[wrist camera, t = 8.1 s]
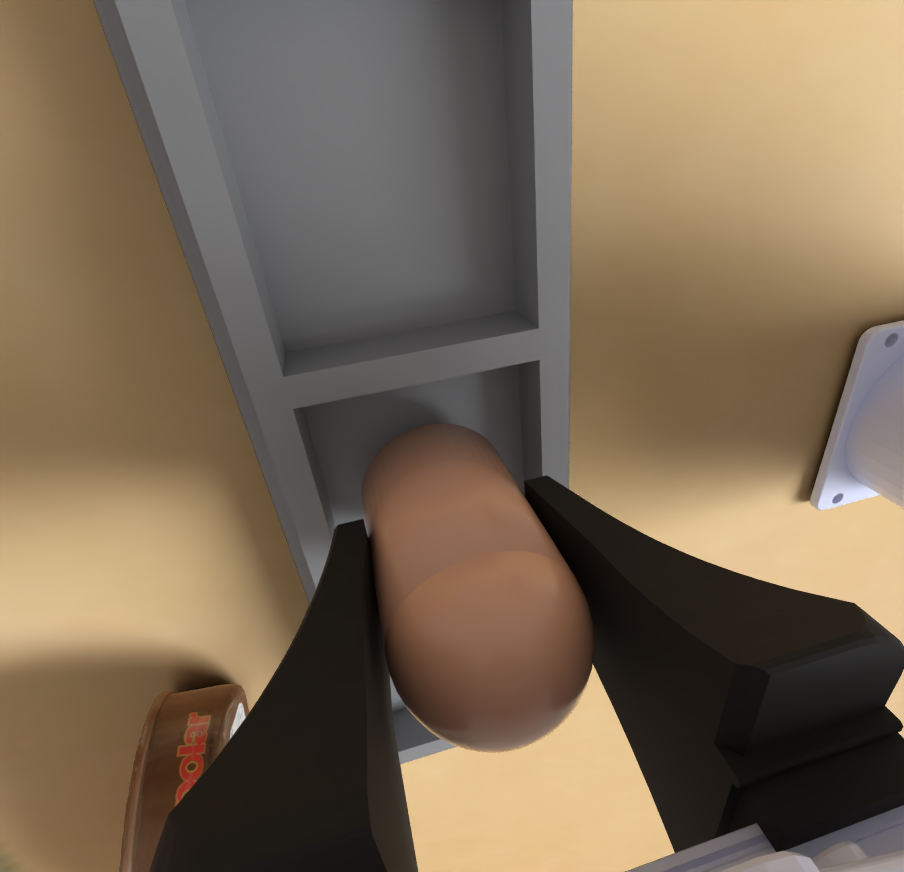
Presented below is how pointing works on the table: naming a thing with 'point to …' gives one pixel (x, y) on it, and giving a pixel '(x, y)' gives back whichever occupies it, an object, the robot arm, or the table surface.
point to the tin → (175, 761)
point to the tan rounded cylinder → (472, 593)
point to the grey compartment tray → (368, 229)
